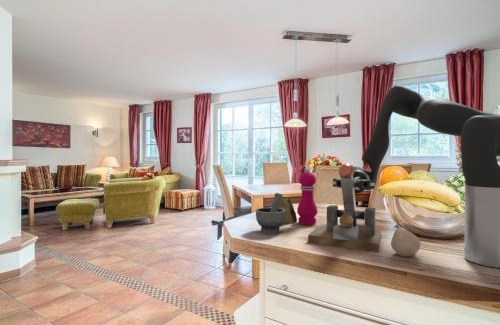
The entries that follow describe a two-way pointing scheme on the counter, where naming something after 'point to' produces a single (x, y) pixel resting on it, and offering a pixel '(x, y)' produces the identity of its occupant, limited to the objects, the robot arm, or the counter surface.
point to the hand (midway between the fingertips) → (348, 185)
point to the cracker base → (343, 243)
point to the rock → (288, 210)
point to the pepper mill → (307, 199)
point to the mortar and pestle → (271, 216)
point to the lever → (349, 194)
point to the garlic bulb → (404, 242)
